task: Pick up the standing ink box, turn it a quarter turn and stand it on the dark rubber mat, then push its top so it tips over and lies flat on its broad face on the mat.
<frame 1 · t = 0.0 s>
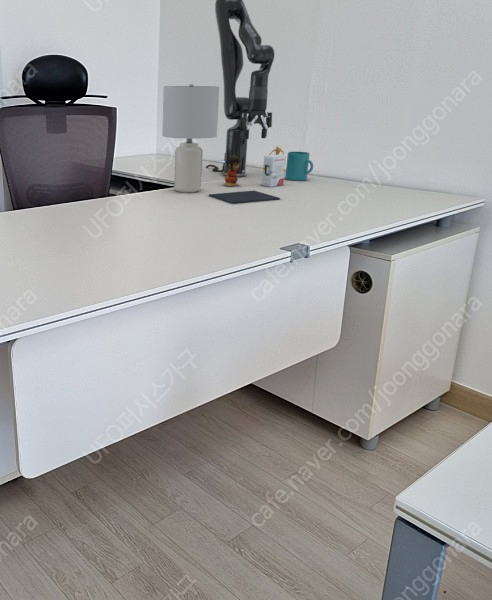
hand: (254, 138, 249), 17 cm above the table, tool pointing down, fingers open, 8 cm apart
figurine 2: (273, 173, 272), on the table
figurine: (231, 185, 241), on the table
ink box: (272, 185, 242), on the table
mat: (243, 197, 217), on the table
cup: (298, 180, 255), on the table
lamp: (187, 191, 230), on the table
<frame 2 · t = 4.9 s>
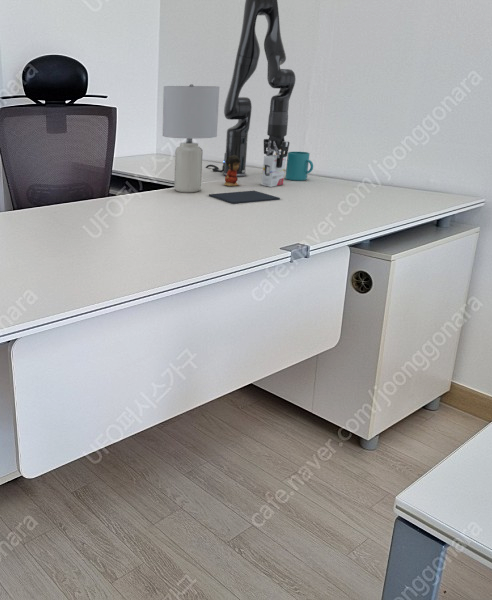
hand: (274, 166, 239), 8 cm above the table, tool pointing down, fingers closed on ink box, 5 cm apart
ink box: (272, 185, 242), on the table, touching gripper
everything else where it was.
when the fingers open (8 cm above the table, at t = 14.2 s): ink box stays where it is, resting on mat.
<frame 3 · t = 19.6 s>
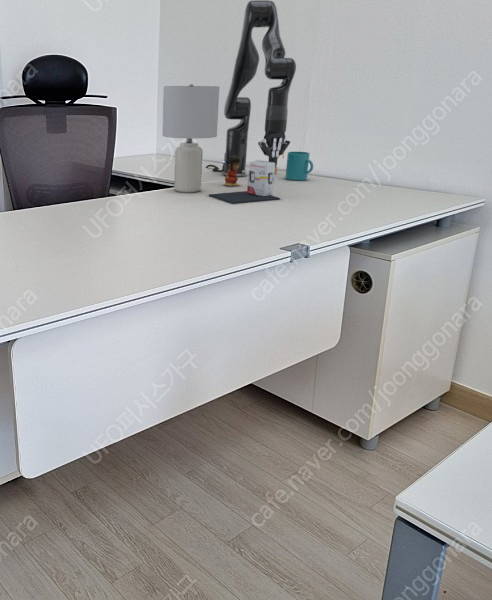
hand: (272, 167, 217), 10 cm above the table, tool pointing down, fingers closed
ink box: (260, 194, 219), point 1 cm above the table, touching gripper, mat
everything else where it was.
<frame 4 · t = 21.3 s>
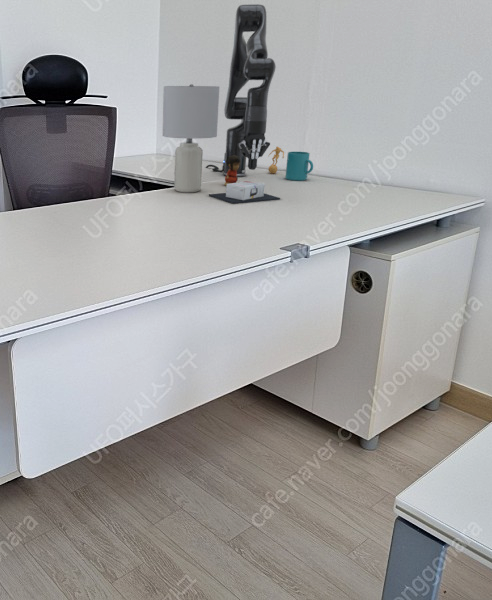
hand: (252, 169, 214), 10 cm above the table, tool pointing down, fingers closed
ink box: (255, 188, 217), point 3 cm above the table, touching mat
everything else where it was.
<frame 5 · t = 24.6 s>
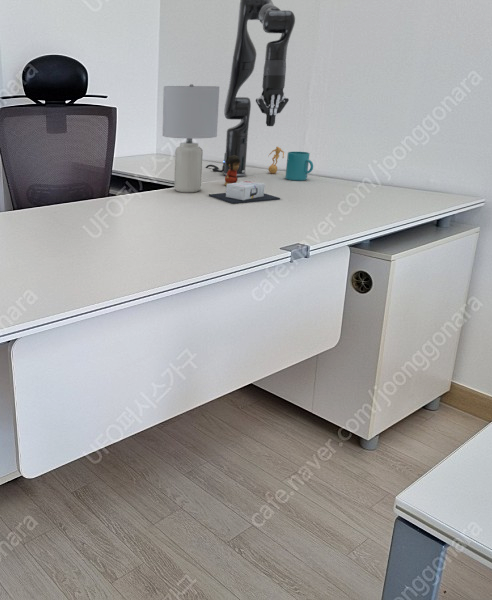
hand: (270, 126, 211), 25 cm above the table, tool pointing down, fingers closed
nothing on the table moved.
at the end: ink box tilted 91°; ink box inside the target area on the mat (4.7 cm from its centre), point 3.2 cm above the mat's base; the gripper is holding nothing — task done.
